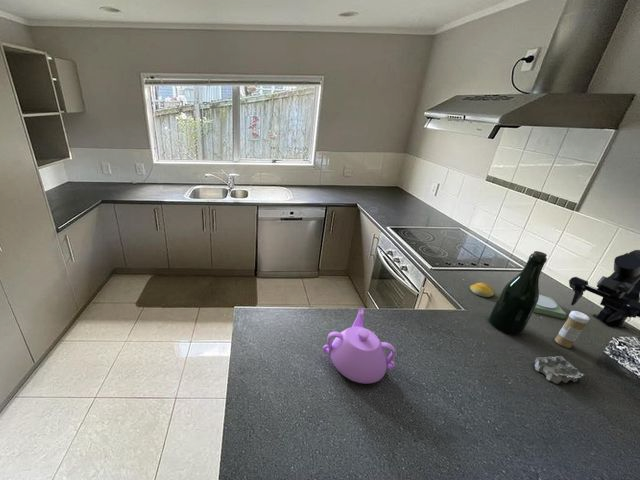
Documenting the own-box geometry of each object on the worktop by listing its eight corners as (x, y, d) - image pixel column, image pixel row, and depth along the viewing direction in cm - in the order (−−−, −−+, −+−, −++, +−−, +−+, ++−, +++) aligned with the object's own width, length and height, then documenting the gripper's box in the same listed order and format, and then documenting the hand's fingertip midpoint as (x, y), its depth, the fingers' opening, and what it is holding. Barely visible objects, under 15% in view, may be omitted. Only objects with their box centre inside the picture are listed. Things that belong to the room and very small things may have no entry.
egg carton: (551, 384, 87) (557, 375, 85) (528, 364, 94) (533, 355, 92) (582, 383, 88) (589, 374, 86) (557, 362, 95) (562, 354, 93)
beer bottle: (500, 315, 116) (534, 244, 103) (528, 333, 107) (569, 258, 94) (481, 319, 114) (513, 247, 101) (508, 338, 104) (548, 261, 91)
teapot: (385, 342, 100) (394, 312, 95) (396, 398, 81) (408, 364, 75) (323, 329, 105) (328, 299, 100) (319, 378, 86) (325, 345, 81)
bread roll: (466, 289, 132) (468, 282, 131) (477, 285, 136) (480, 278, 134) (485, 300, 125) (488, 292, 124) (496, 295, 129) (499, 288, 127)
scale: (549, 302, 126) (552, 295, 124) (563, 318, 115) (567, 312, 114) (510, 293, 131) (513, 287, 129) (521, 309, 120) (524, 302, 119)
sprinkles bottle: (553, 336, 106) (570, 308, 101) (571, 343, 103) (589, 314, 98) (554, 343, 103) (571, 314, 97) (572, 350, 100) (591, 321, 95)
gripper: (584, 257, 103) (554, 287, 104) (665, 286, 88) (629, 321, 88) (584, 272, 109) (556, 300, 110) (660, 301, 93) (627, 334, 94)
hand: (588, 312), depth 100 cm, fingers open, 9 cm apart
